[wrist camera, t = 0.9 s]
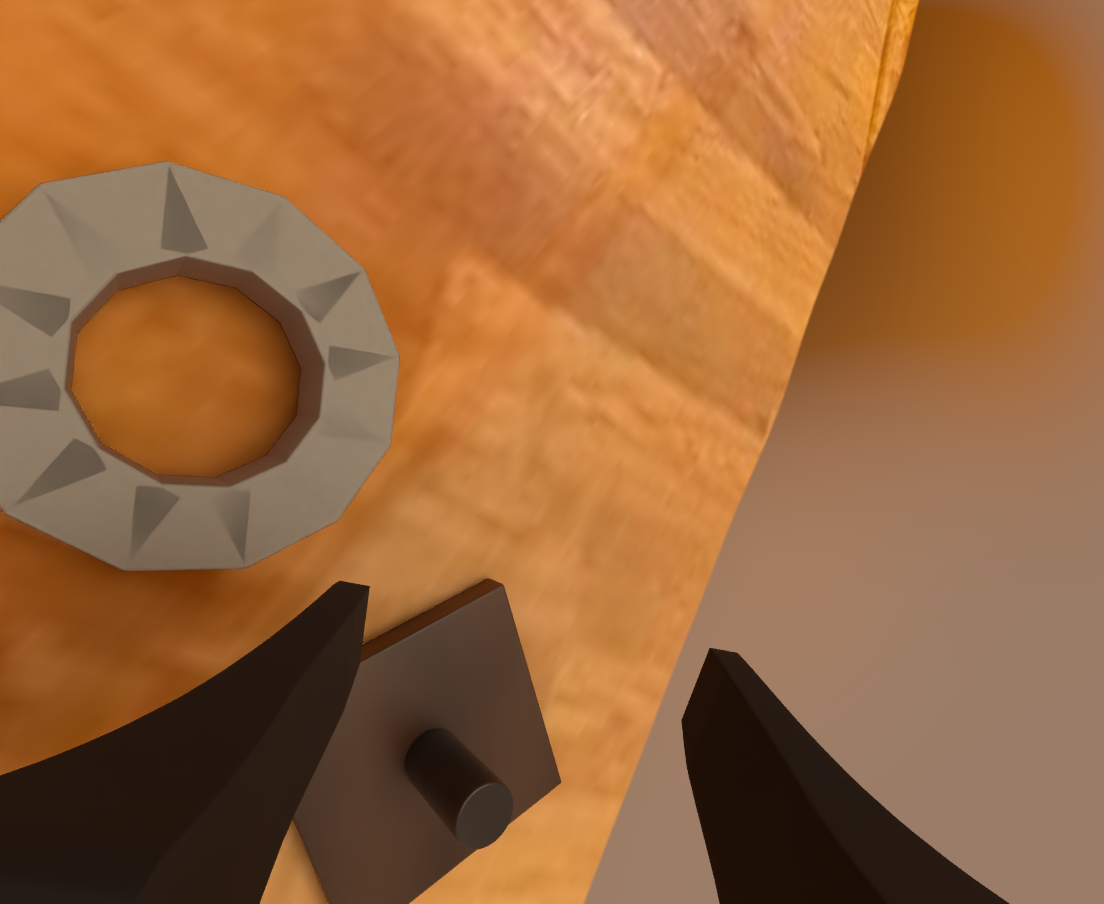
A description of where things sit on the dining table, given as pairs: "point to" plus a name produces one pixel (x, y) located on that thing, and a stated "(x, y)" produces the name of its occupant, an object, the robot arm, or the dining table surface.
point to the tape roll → (213, 256)
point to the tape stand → (427, 753)
